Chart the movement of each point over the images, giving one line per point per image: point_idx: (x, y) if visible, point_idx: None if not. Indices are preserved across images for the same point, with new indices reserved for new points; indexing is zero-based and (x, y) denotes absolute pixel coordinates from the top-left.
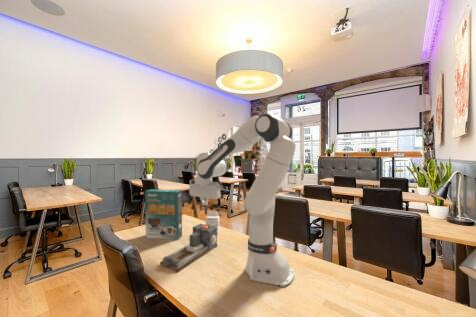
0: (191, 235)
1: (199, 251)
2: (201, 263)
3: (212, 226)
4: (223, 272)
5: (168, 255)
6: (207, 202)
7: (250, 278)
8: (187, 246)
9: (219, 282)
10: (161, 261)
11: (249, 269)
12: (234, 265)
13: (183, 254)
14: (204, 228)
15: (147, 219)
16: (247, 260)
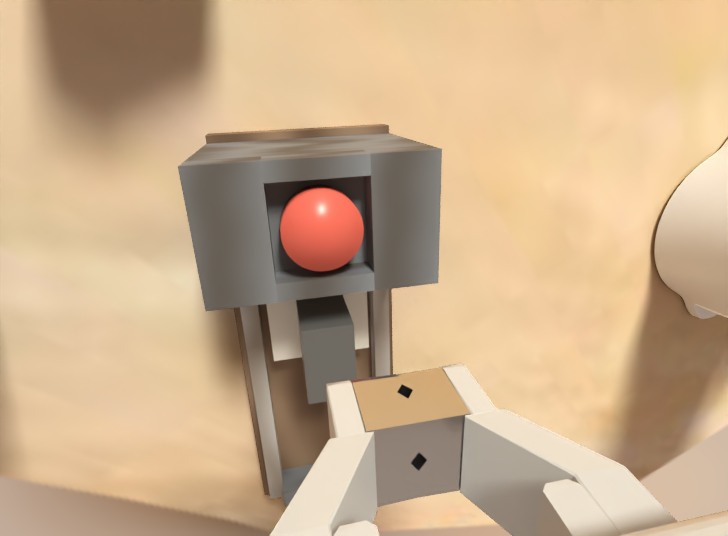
0: (324, 396)
1: (388, 331)
2: (434, 350)
3: (384, 159)
4: (570, 340)
5: (266, 467)
6: (490, 407)
7: (696, 316)
8: (286, 358)
9: (584, 397)
10: (264, 488)
11: (709, 307)
12: (594, 263)
13: (300, 380)
14: (346, 259)
15: None
16: (711, 282)
